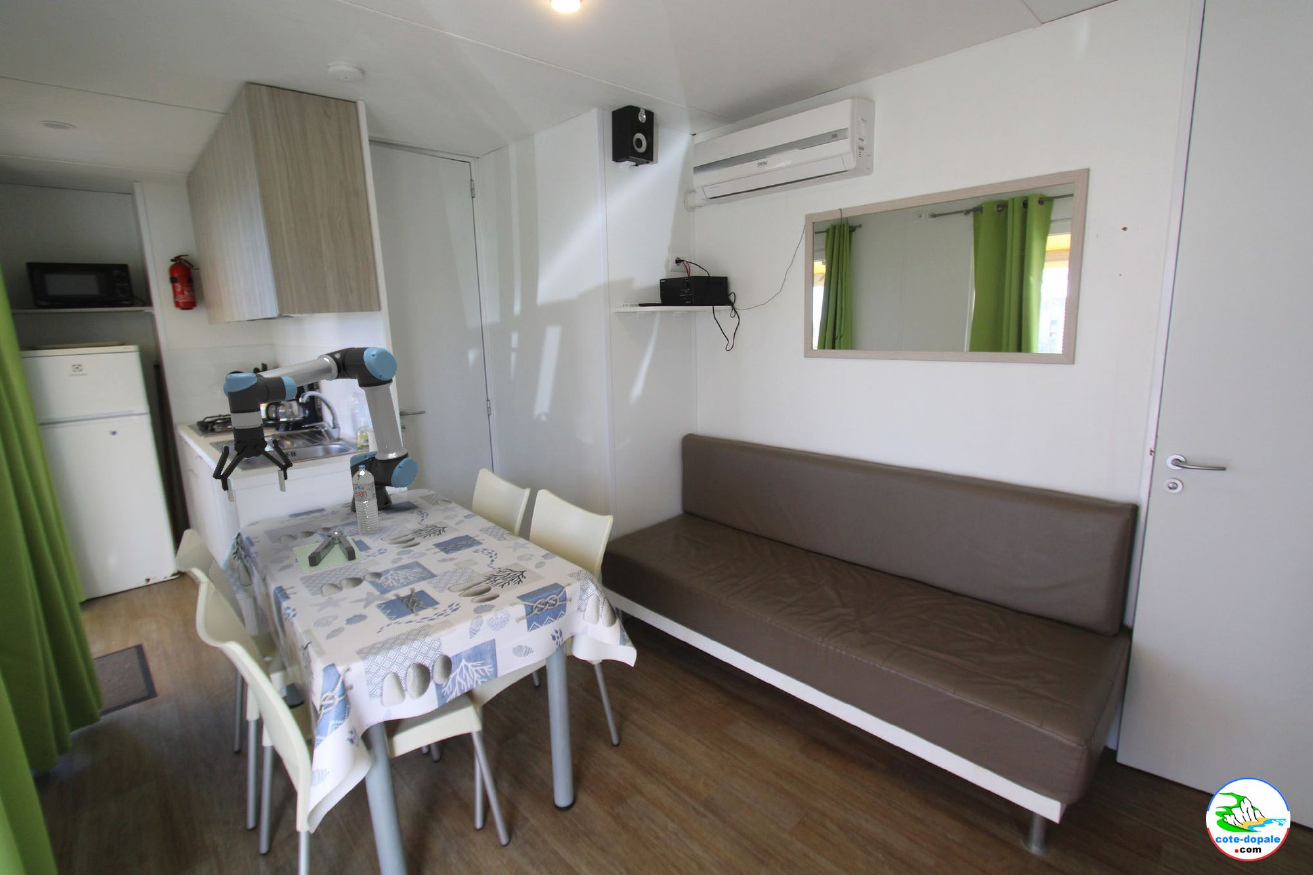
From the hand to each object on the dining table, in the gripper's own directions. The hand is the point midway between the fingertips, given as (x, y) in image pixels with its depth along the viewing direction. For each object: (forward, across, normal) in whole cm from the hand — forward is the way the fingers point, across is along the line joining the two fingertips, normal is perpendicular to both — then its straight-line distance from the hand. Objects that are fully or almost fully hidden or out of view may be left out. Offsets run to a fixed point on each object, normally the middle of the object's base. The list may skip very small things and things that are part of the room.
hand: (257, 495), depth 183 cm
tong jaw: (+21, -14, +6) cm, 26 cm away
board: (+23, -16, +6) cm, 28 cm away
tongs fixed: (+21, -20, +6) cm, 30 cm away
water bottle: (+23, -33, -4) cm, 40 cm away
